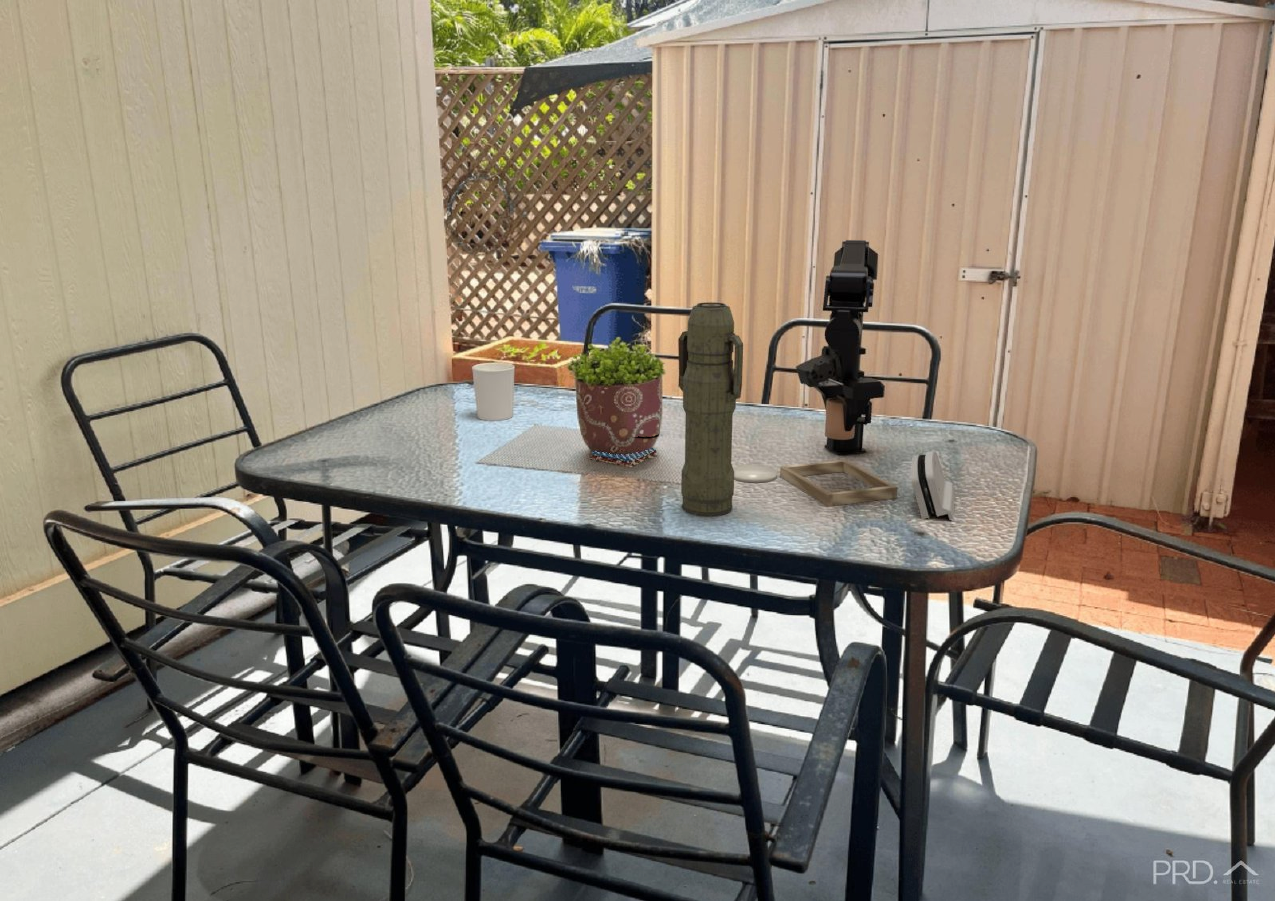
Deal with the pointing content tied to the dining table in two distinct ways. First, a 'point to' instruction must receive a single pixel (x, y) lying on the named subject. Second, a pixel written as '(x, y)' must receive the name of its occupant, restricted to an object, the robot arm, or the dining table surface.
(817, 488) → the wooden frame
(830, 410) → the terracotta pot
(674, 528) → the dining table surface
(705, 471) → the thermos
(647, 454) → the woven mat
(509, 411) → the light grey cup
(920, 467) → the light grey slab casing
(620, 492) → the dining table surface
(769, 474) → the cream saucer
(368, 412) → the dining table surface
